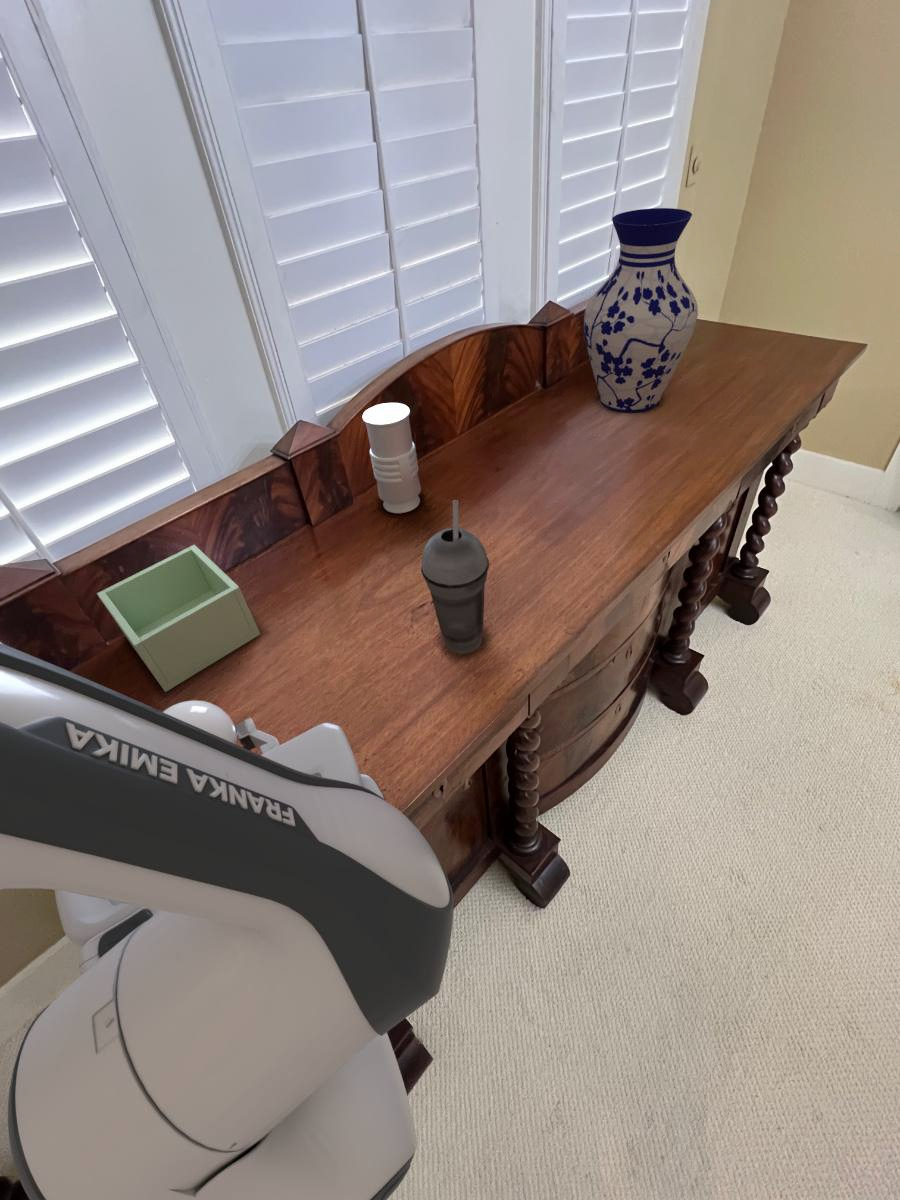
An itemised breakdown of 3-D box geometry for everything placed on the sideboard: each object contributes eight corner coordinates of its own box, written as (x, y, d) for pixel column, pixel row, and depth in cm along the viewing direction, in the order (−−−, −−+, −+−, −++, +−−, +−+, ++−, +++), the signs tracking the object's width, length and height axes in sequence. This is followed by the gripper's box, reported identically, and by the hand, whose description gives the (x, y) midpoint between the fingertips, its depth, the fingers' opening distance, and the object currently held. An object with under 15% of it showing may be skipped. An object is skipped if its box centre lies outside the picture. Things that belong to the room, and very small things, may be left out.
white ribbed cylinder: (393, 520, 89) (375, 429, 79) (372, 501, 94) (353, 412, 84) (431, 504, 92) (419, 413, 82) (409, 486, 96) (395, 398, 86)
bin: (165, 692, 68) (133, 645, 62) (127, 639, 75) (96, 593, 70) (260, 634, 74) (239, 587, 68) (216, 590, 81) (194, 544, 76)
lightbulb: (175, 802, 49) (112, 724, 42) (238, 750, 52) (191, 670, 45) (215, 849, 46) (155, 774, 38) (281, 790, 49) (237, 710, 41)
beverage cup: (464, 609, 73) (449, 469, 60) (506, 638, 69) (500, 494, 56) (420, 641, 70) (394, 500, 57) (462, 673, 66) (444, 528, 52)
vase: (583, 379, 121) (595, 207, 101) (681, 380, 116) (713, 200, 96) (573, 421, 108) (583, 233, 87) (682, 424, 103) (720, 226, 83)
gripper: (389, 793, 38) (311, 662, 47) (47, 994, 31) (34, 795, 40) (403, 838, 42) (329, 710, 51) (105, 1024, 35) (81, 838, 44)
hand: (197, 748), depth 45 cm, fingers closed on lightbulb, 6 cm apart
